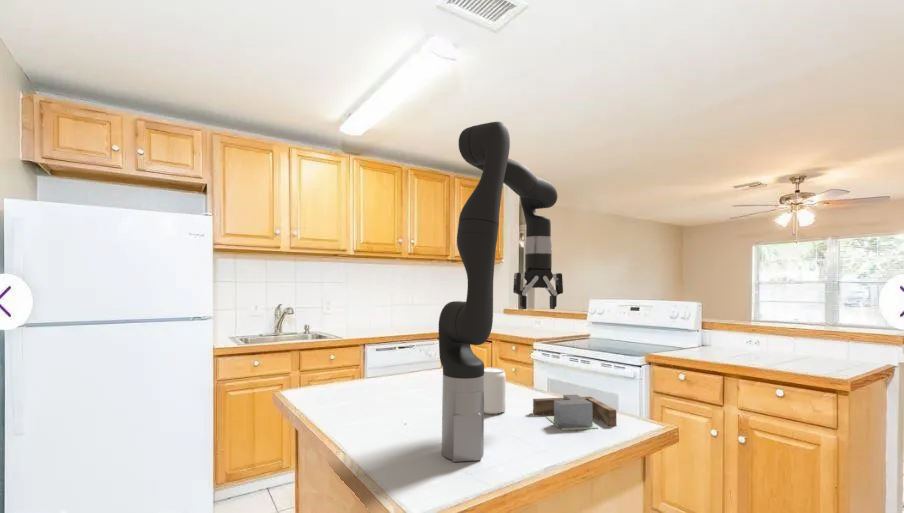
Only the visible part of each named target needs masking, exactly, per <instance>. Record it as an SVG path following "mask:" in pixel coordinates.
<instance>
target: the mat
mask: <svg viewBox="0 0 904 513" xmlns="http://www.w3.org/2000/svg"><path fill="white" fill-rule="evenodd" d="M545 419H547V420H549V421H550V422H551V423H552V424H554V415H553V416H550V415H549V416H548V415H547V416H545ZM554 425H555V426H556V427H558V426H557V425H556V424H554ZM558 428H559V429H560V430H562V431H574V430H576V431H577V430H593V429H595V430H596V429H597V430H599V426H598V425H596V424H594V423H593V426H592V427H573V428H560V427H558Z"/></svg>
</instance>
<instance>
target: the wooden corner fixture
mask: <svg viewBox="0 0 904 513" xmlns="http://www.w3.org/2000/svg"><path fill="white" fill-rule="evenodd" d="M581 397H582V398H584V399H586V400H587V401H589V402H591V403H592V414H593V417H594V418H596V419H597V420H599V421H601V422H602V423H604V424H606V425H608V426H609V427H612V426H614V427H615V426H617V409H615V408H613V407H611V406H609V405H608V404H605V403H603V402H602V401H600V400H598V399H596V398H594V397H593V396H581ZM554 400H563V397H545V398H533V399H532V401H533V402H532V413H533V414H534V415H535V416H539V415H540V414H545V415H554ZM540 416H541V415H540Z"/></svg>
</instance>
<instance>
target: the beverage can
mask: <svg viewBox="0 0 904 513" xmlns="http://www.w3.org/2000/svg"><path fill="white" fill-rule="evenodd" d="M506 375H507V374H506V372H505V370H504V369H503V368H500V367H496V366H495V367H491V366H487V367H485V366H484V414H487V415H498V413H499V414H502V413H504V412H505V411H506V402H507V400H506V396H507V395H506V392H507V391H506V390H507V389H506V388H507V387H506V384H507V381H506V380H507V379H506V377H507V376H506ZM501 412H502V413H501Z"/></svg>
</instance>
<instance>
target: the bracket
mask: <svg viewBox="0 0 904 513" xmlns="http://www.w3.org/2000/svg"><path fill="white" fill-rule="evenodd" d="M582 397H583V396H580V395H578V394H563V397H562V398H563V400H554V414H553V416H554V423H553V424H554V425H555V424H556V425H557V426H556V425H555V426H556V427H558V428H559V427H560V428H573V427H592V426H593V424H594V423H593V421H594V420H593V419H594V418H593V417H594V416H593V414H592V403H591V402H589V401H587V400H586V399H584V398H582ZM560 428H559V429H560Z"/></svg>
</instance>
